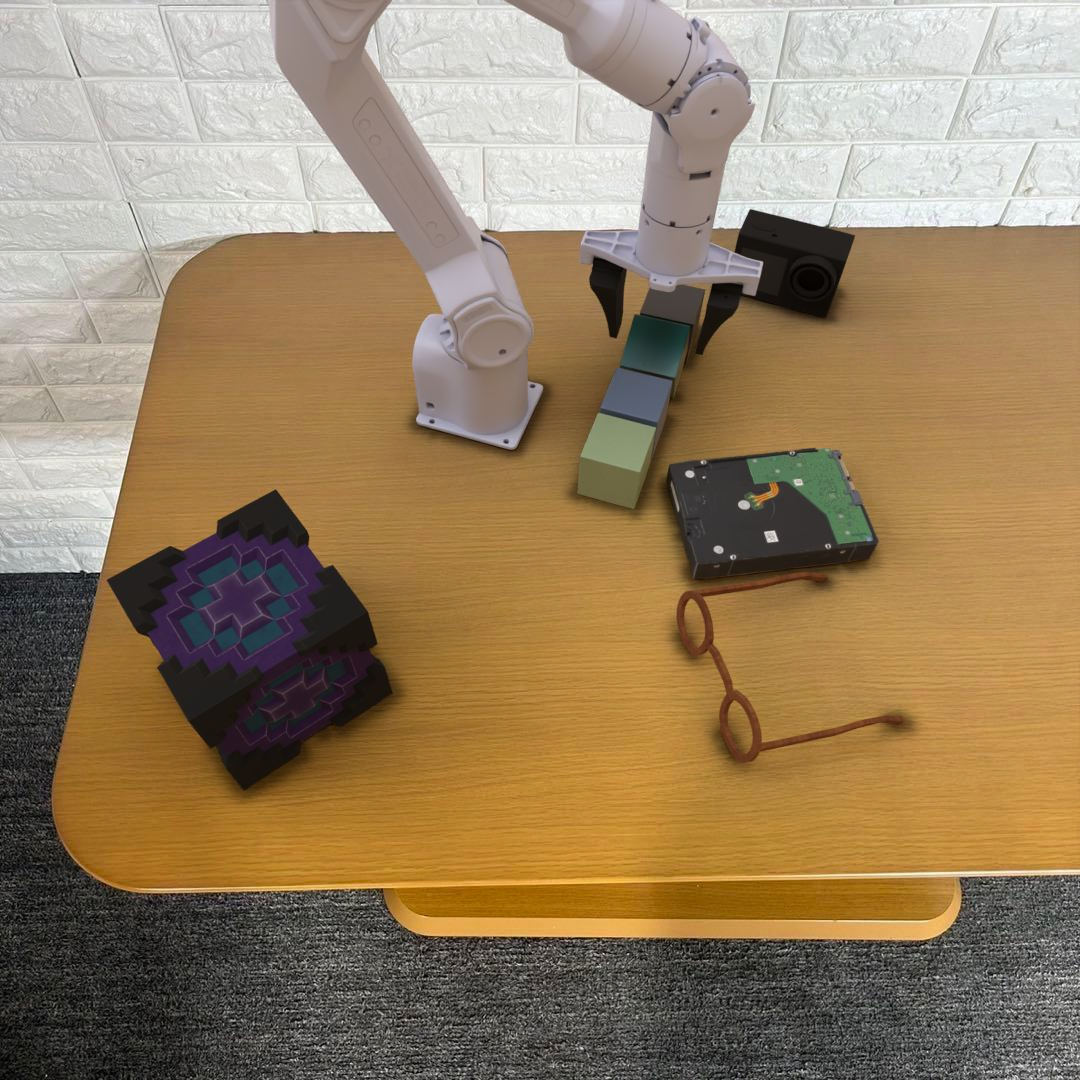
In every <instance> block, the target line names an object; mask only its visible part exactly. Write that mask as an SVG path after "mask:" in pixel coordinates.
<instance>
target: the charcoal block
mask: <svg viewBox="0 0 1080 1080" xmlns="http://www.w3.org/2000/svg"><path fill="white" fill-rule="evenodd" d="M705 294H706V289H705V288H700V287H696V286H692V285H677V286H676V288H675V290H674V291H672V292H664V291H659V290H654V289H651V288H650V287H648V291H647V293H646V296H645V299H644V301H643V304H642V307H641V308H640V311H639V315H642V316H647V317H651V318H656V319H660V320H665V321H669V322H674V323H678V324H683V325H687V326H690V333H689V343H688V351H687V354H686V358H685V361H684V365H687V364H688V361H689V357H690V354H691V352H692V348H693V345H694V341H695V339H696V335H697V332H698V329H699V324H700V319H701V314H702V309H703V304H704V298H705Z"/></svg>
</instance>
